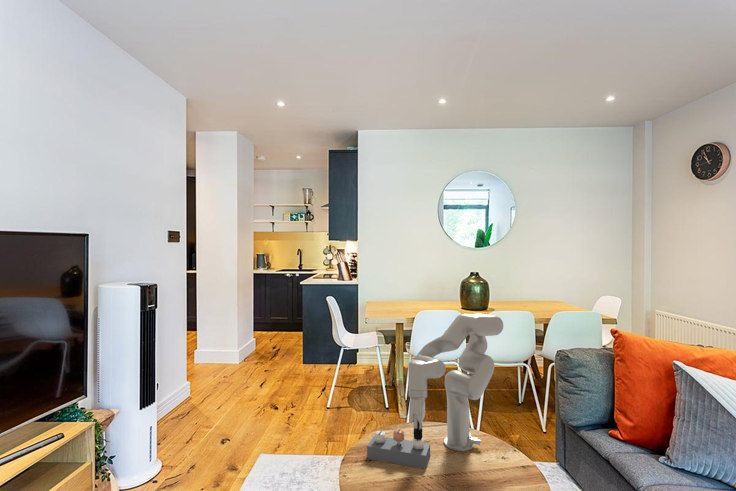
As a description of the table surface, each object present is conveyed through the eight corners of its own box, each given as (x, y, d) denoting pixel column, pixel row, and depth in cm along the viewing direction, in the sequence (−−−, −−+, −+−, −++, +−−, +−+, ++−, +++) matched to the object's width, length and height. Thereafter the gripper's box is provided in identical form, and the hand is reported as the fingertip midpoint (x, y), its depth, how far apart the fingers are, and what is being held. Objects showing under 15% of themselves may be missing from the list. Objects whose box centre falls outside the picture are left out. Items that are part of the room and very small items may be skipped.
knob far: (386, 446, 161) (386, 431, 161) (383, 451, 157) (383, 435, 157) (376, 445, 162) (376, 429, 162) (373, 450, 158) (373, 434, 158)
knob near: (424, 453, 156) (424, 436, 156) (422, 458, 151) (422, 441, 152) (413, 451, 157) (413, 435, 157) (411, 456, 153) (411, 439, 153)
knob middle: (405, 445, 158) (405, 429, 158) (402, 450, 154) (402, 433, 154) (394, 443, 160) (394, 427, 160) (392, 448, 155) (392, 432, 156)
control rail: (430, 456, 158) (430, 443, 158) (426, 468, 148) (425, 455, 148) (374, 447, 165) (374, 435, 165) (367, 458, 156) (367, 446, 156)
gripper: (412, 385, 163) (412, 429, 163) (404, 397, 149) (404, 445, 149) (430, 387, 161) (430, 431, 160) (423, 399, 147) (423, 448, 146)
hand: (418, 438), depth 154 cm, fingers closed
